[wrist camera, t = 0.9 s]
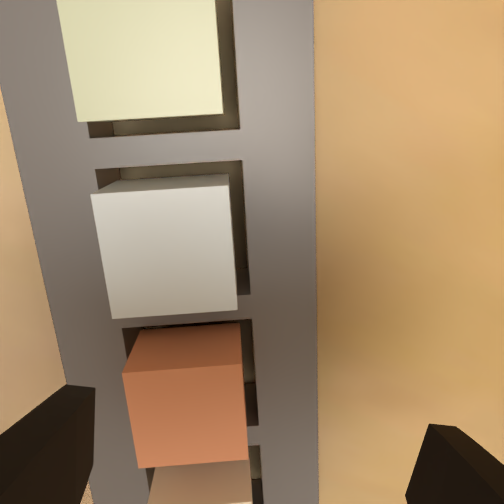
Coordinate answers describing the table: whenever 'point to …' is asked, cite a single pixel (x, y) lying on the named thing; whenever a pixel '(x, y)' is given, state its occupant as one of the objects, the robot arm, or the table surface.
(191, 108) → the key sage
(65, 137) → the grey slotted tray
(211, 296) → the white square block
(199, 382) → the key terracotta
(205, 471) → the key ivory
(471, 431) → the table surface
